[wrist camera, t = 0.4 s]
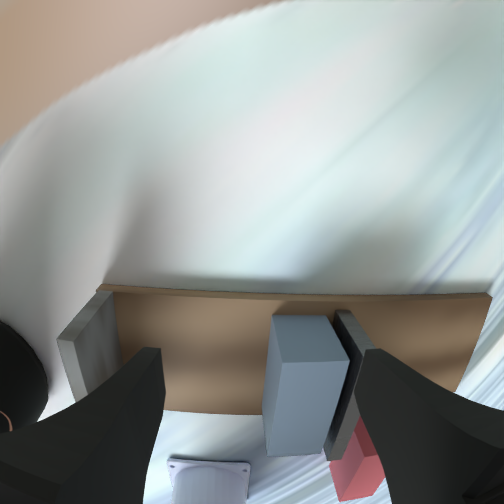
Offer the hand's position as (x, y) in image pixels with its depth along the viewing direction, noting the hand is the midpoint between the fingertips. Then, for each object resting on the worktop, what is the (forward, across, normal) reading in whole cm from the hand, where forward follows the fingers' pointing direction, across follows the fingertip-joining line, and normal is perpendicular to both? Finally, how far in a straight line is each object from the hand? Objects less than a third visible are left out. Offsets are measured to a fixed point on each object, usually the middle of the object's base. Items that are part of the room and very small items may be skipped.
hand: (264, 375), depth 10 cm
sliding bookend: (+9, -6, +6) cm, 12 cm away
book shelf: (+10, -5, +6) cm, 13 cm away
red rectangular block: (+10, -11, +17) cm, 23 cm away
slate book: (+9, -3, +6) cm, 11 cm away
